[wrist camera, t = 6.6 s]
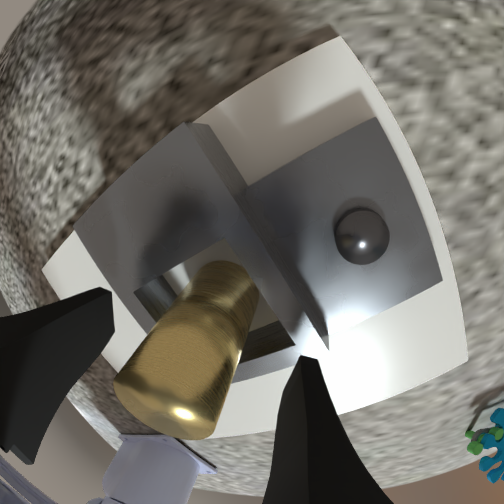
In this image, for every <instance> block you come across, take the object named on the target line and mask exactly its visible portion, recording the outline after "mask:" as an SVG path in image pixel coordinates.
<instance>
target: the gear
mask: <svg viewBox="0 0 504 504" xmlns="http://www.w3.org/2000/svg"><path fill="white" fill-rule="evenodd" d="M490 420H491V422H494V423H496V425H495V427H491V428H485V429H480V430H478V431H476V432H474V431H471V430H468V431H467V432H466V433H465V436H466V437H468V438H470V439H471V442H470V443H469V445H468V447H467V450H468V452H470V453H472V454H474V455H478V454H480V453H481V451H482V450H483V448H484V449H489V448H491V447H497V449H498V451H497V454H496V455H495V456H494V457H493V458H490V457H488V456H484V457H482V458H481V460H480V464H479V469H480V470H482V471H487V470H488V469H489V468H490V467H491V466H493V465H494V464H495V463H497V462H499V461H502V463H501V465H500V466H499V467H498V468H496V469H492V470H491V471H490V472H489V473H488V474H487V479H488V480H489V481H490V482H492V483H495V482H496V481H497V480H498V479H499V478H500V476H501V474H502V473H503V472H504V409H503V408H498V409H496V410H495V411H494V413H493V414H492V415H491V417H490ZM501 479H502V480H503V481H504V474H503V475H502V477H501Z"/></svg>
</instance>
